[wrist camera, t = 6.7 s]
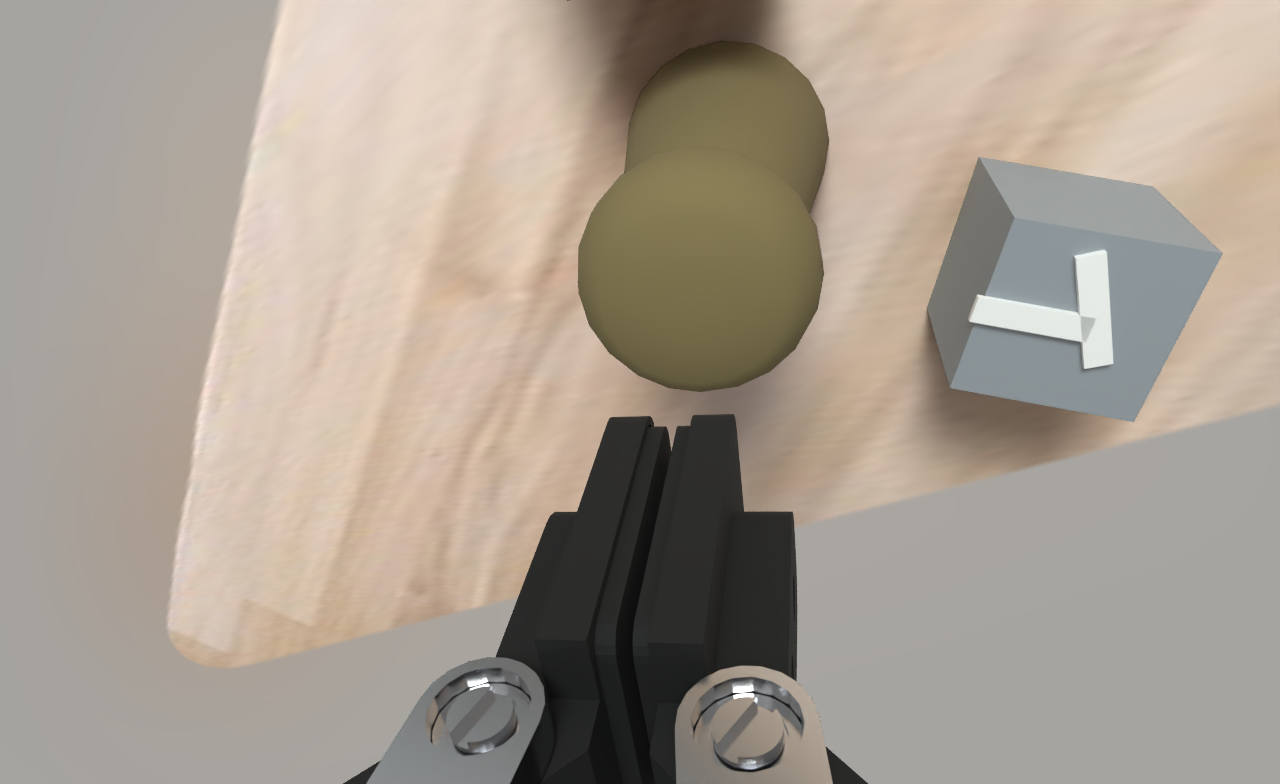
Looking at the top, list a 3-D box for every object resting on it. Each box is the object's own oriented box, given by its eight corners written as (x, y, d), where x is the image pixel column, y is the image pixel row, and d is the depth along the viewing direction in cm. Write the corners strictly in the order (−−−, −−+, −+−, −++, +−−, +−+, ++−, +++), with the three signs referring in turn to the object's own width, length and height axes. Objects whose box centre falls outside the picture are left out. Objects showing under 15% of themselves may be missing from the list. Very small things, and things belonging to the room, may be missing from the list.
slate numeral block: (1152, 185, 25) (1226, 256, 21) (1082, 335, 28) (1136, 426, 24) (971, 155, 26) (1007, 218, 21) (920, 306, 28) (943, 390, 24)
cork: (754, 274, 29) (735, 481, 19) (593, 176, 28) (492, 344, 18) (871, 115, 25) (915, 270, 16) (694, -3, 25) (634, 91, 15)
